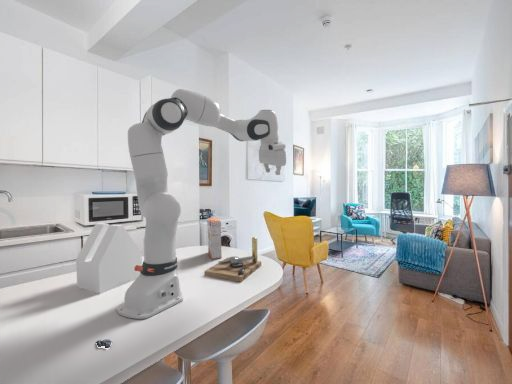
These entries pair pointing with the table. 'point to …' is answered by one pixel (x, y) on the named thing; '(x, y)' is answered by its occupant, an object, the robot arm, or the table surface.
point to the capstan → (237, 261)
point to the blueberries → (104, 343)
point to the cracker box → (214, 237)
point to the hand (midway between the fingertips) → (272, 173)
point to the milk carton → (107, 259)
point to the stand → (233, 270)
